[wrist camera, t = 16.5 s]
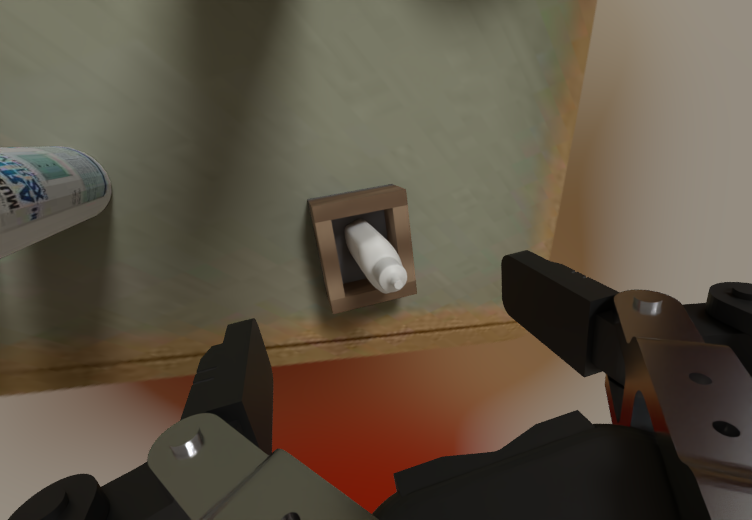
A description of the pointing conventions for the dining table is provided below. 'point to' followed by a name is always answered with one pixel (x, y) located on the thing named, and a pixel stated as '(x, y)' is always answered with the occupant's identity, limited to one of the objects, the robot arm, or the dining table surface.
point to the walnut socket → (338, 265)
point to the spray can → (47, 193)
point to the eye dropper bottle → (375, 256)
